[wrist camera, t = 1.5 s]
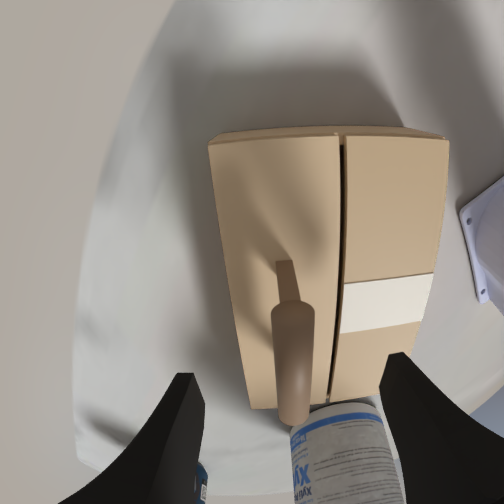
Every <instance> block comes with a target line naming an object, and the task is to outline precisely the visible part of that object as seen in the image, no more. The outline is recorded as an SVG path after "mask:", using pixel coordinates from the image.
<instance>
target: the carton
mask: <svg viewBox="0 0 504 504" xmlns="http://www.w3.org/2000/svg"><path fill="white" fill-rule="evenodd" d="M323 135H337V136H339V154H340V242H339V267H338V285H337V300H336V313H335V325H334V336H333V345H332V355H331V363H330V371H329V379H328V387H327V394H326V398H329V402H336V401H343V400H349V399H355V398H360V397H366V396H371V395H376V394H380V392H379V384H380V381H381V378H382V375H383V372H384V369H385V365H386V362H387V359H388V355H389V354H393V353H398V352H404V353H405V354H406V355H407V356H408V357H410V354H411V351H412V348H413V345H414V342H415V339H416V336H417V333H418V330H419V326H420V323H421V321H422V318H423V315H424V311H425V308H426V304H427V300H428V296H429V292H430V288H431V284H432V280H433V275H434V273H433V272H434V268H435V263H436V258H437V253H438V247H439V242H440V236H441V230H442V223H443V216H444V208H445V200H446V190H447V179H448V164H449V140H446V139H445V137H444V136H440V135H436V134H432V133H428V132H424V131H419V130H415V129H410V128H406V127H388V126H305V127H286V128H271V129H259V130H248V131H238V132H229V133H221V134H219V135H217V136H216V137H214V138H213V139H212V140H210V141H209V142H208V145H211V144H219V143H227V142H236V141H246V140H256V139H268V138H282V137H299V136H323Z"/></svg>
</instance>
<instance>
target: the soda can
mask: <svg viewBox="0 0 504 504" xmlns="http://www.w3.org/2000/svg"><path fill="white" fill-rule="evenodd" d="M207 480H208V475H207V473H206V471H205V469H204V467H203V466H202V465H201V464H200V463H198V464H197V470H196V477H195V487H194V504H205V500H206V490H207Z"/></svg>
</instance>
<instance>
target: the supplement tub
mask: <svg viewBox="0 0 504 504" xmlns="http://www.w3.org/2000/svg"><path fill="white" fill-rule="evenodd" d="M290 445H291V457H292V471H293V484H294V495H295V496H294V497H295V504H404V500H403V496H402V491H401V487H400V483H399V480H398V476H397V472H396V468H395V464H394V460H393V457H392V453H391V449H390V446H389V442H388V439H387V435H386V432H385V429H384V425H383V422H382V419H381V416H380V413H379V412H378V411H377V410H376V409H375V408H374V407H372V406H370V405H368V404H365V403H357V402H350V403H341V404H335V405H331V406H327V407H324V408H321V409H318V410H316V411H313V412H311V413H309V417H308V419H307V420H306V421H305V422H304V423H302V424H300V425H297V426H293V427H292V429H291V432H290Z"/></svg>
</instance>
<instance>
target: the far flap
mask: <svg viewBox="0 0 504 504" xmlns="http://www.w3.org/2000/svg"><path fill="white" fill-rule="evenodd" d="M208 152H209V160H210V167H211V174H212V181H213V188H214V195H215V202H216V209H217V216H218V222H219V229H220V235H221V242H222V248H223V254H224V260H225V267H226V273H227V279H228V285H229V291H230V297H231V303H232V308H233V314H234V320H235V326H236V331H237V337H238V342H239V348H240V353H241V359H242V364H243V369H244V375H245V380H246V385H247V390H248V395H249V400H250V406H251V409H269V408H278V416H279V419H280V420H281V422H283V423H284V424H286V425H289V426H297V425H300V424H302V423H304V422H305V421H306V420H307V419H308V417H309V410H310V405H313V404H322V403H325V401H326V394H327V387H328V379H329V371H330V363H331V355H332V345H333V336H334V325H335V313H336V300H337V285H338V267H339V242H340V154H339V136H337V135H323V136H299V137H282V138H268V139H256V140H246V141H236V142H227V143H219V144H211V145H208Z"/></svg>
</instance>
